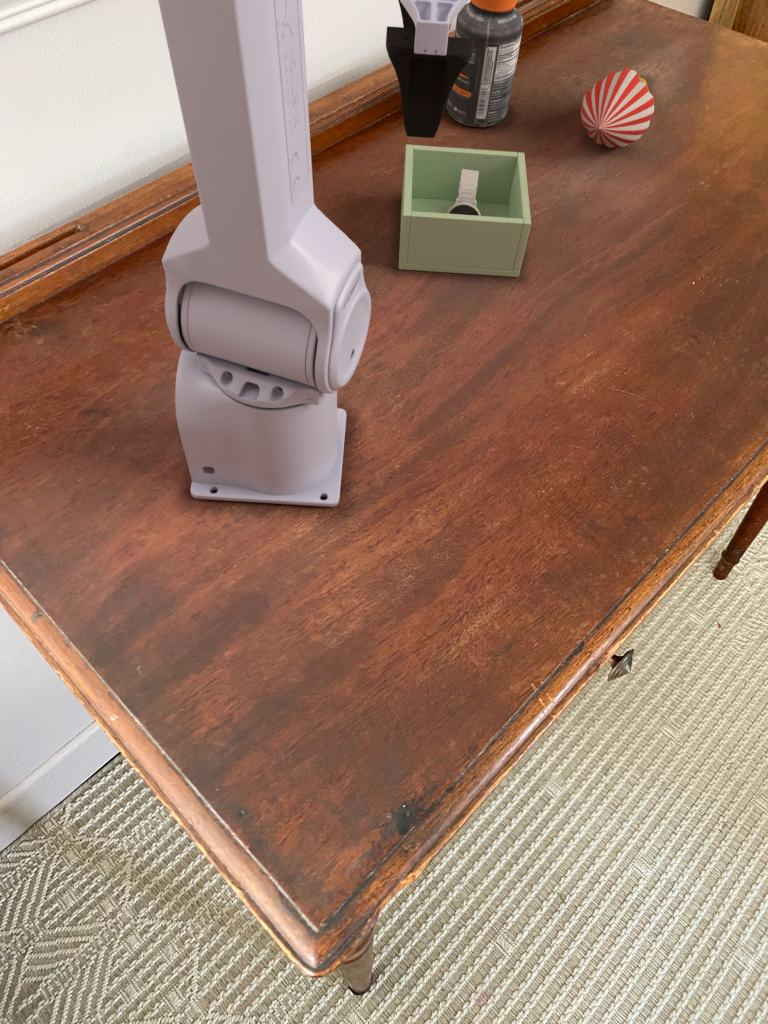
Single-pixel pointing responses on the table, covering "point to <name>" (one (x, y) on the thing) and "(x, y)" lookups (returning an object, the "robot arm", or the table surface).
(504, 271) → the bin
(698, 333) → the table surface
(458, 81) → the pill bottle
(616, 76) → the striped christmas ornament
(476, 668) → the table surface
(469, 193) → the wristwatch
